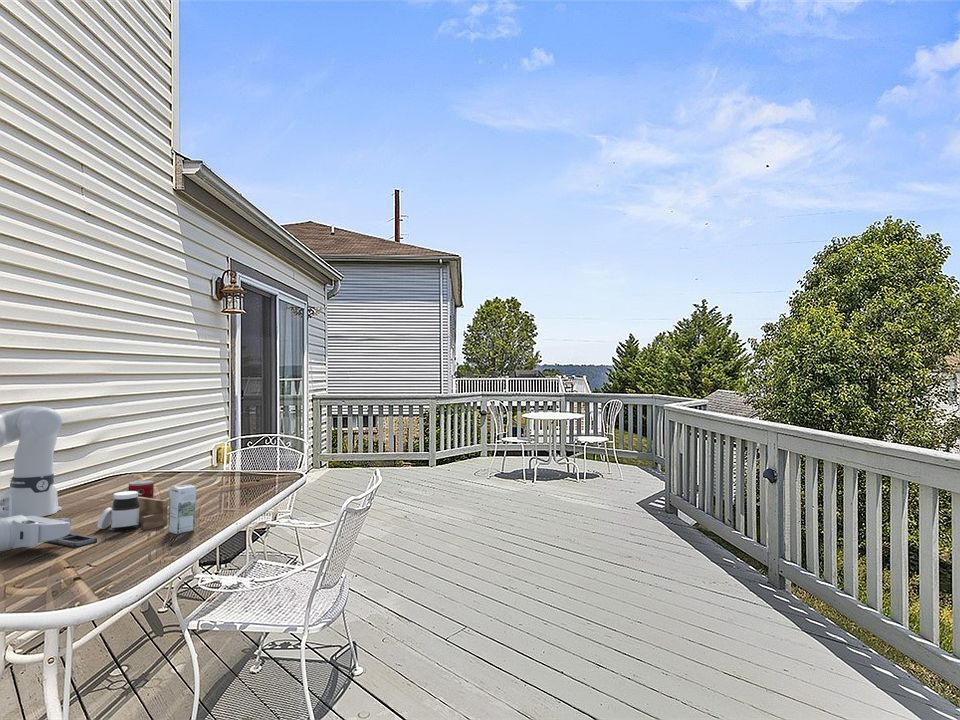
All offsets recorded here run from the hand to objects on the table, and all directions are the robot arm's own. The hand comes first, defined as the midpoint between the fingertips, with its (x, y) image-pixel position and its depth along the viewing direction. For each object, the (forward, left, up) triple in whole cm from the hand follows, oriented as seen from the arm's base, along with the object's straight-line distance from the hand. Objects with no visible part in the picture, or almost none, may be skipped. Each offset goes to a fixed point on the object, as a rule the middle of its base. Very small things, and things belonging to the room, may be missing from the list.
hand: (68, 520), depth 168 cm
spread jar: (0, +15, -6) cm, 17 cm away
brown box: (0, +22, -6) cm, 23 cm away
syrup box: (+21, +22, -6) cm, 31 cm away
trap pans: (0, 0, -6) cm, 6 cm away
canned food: (-17, +34, -6) cm, 39 cm away
